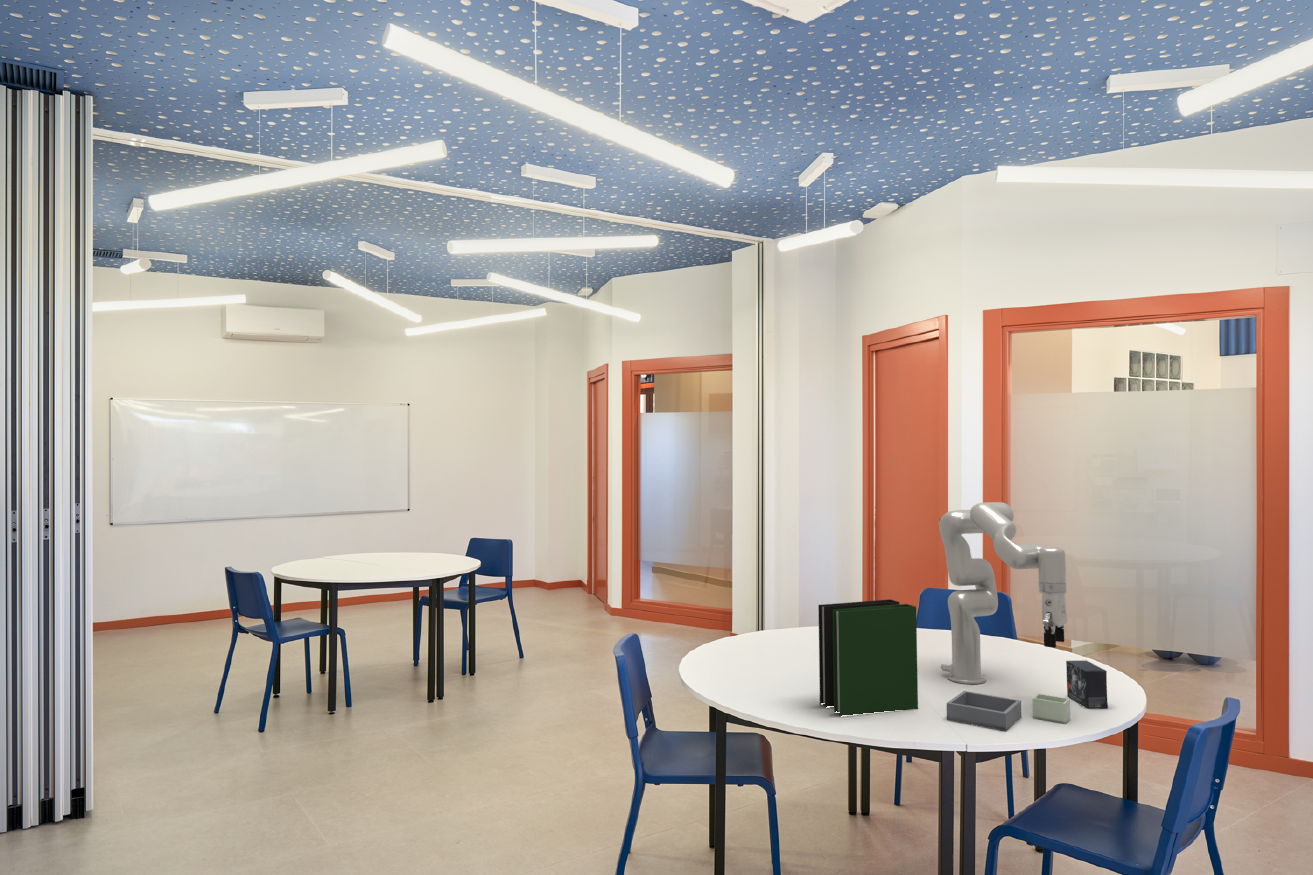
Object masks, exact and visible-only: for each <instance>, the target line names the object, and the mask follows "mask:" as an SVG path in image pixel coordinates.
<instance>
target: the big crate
mask: <svg viewBox="0 0 1313 875" xmlns="http://www.w3.org/2000/svg"><path fill="white" fill-rule="evenodd" d="M1021 718H1022V700H1019V699H1014V698H1008V697H1003V696H996V695H992V694H991V695H989V694H984V693H980V692H973V691H967V690H963V691H962V692H960V693H959V694H957V695H956V696H954V697H953V698H951V699H950V700H949V701H947V702H946V720H947V721H950V722H957V723H962V724H966V725H971V724H973V725H972V726H976V725H977V727H981V726H982V728H988V729H992V730H997V731H1003V732H1007V731H1008V730H1009V729H1011V728H1012V727H1013V726H1014V725H1015V724H1016V723H1018V721H1019V720H1020V719H1021ZM1012 725H1013V726H1012Z"/></svg>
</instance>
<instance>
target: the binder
mask: <svg viewBox="0 0 1313 875" xmlns="http://www.w3.org/2000/svg"><path fill="white" fill-rule="evenodd" d="M917 624H918V623H917V606H915V605H912V604H908V603H902V604H900V601H897V600H893V599H891V598H889V599H877V600H876V599H875V600H864V601H854V602H852V601H851V602H838V603H828V604H827V603H826V604H825V603H824V604H818V662H819V663H818V666H819V667H818V668H819V669H818V670H819V704H820V703H825V705H824V708H825V707H827V706H834V708H833V713H834V712H836V711H837V712H840V713H839V717H840V716H842V715H853V714H863V713H874V712H884V711H894V712H896V711H895V710H903V711H910V710H911V711H912V710H918V709H919V688H918V687H919V686H918V684H919V682H918V639H917V638H918V637H917V636H918V635H917V633H918V632H917V629H918V628H917Z"/></svg>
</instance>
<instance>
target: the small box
mask: <svg viewBox="0 0 1313 875" xmlns="http://www.w3.org/2000/svg"><path fill="white" fill-rule="evenodd" d="M1065 662H1066V663H1065V664H1066V685H1067V686H1066V690H1067V691H1066V693H1067V694H1066V695H1067V697H1068V699H1070V700H1072V701H1074V702H1076V703H1077V704H1079V705H1080V704H1081V705H1080V706H1081V707H1083V706H1084V708H1085V709H1087V710H1089V709H1090V710H1091V709H1093V710H1094V709H1095V710H1096V709H1097V710H1098V709H1099V710H1100V709H1102V710H1103V709H1107V710H1108V709H1109V703H1108V687H1107V684H1108V682H1107V680H1108V678H1107V675H1108V674H1107V672H1108V671H1107V670H1105V669H1103V668H1102V667H1100V666H1098V665H1096V664H1094V663H1093V662H1090V661H1088V660H1087V659H1086V660H1084V659H1082V660H1066V661H1065Z"/></svg>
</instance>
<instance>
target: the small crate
mask: <svg viewBox="0 0 1313 875" xmlns="http://www.w3.org/2000/svg"><path fill="white" fill-rule="evenodd" d="M1070 700H1071V698H1069V697H1068V698H1066V697H1060V696H1055V695H1050V694H1049V695H1048V694H1042V693H1037V694H1036V695H1035V696H1033V697H1032V719H1034V718H1035V720H1042V721H1046V722H1051V723H1058V724H1063V725H1066V724H1068V722H1069V721H1070V720H1071V701H1070Z"/></svg>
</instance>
